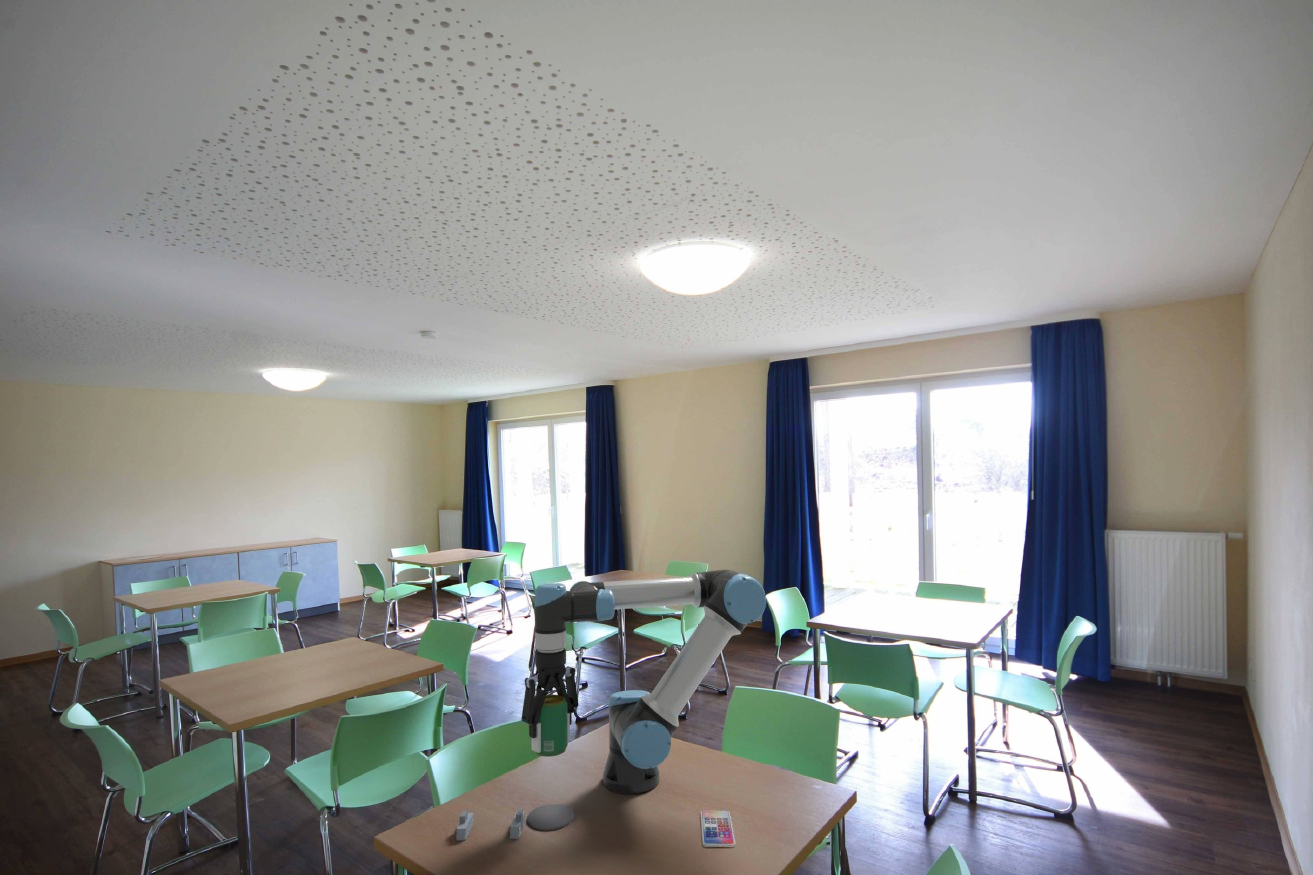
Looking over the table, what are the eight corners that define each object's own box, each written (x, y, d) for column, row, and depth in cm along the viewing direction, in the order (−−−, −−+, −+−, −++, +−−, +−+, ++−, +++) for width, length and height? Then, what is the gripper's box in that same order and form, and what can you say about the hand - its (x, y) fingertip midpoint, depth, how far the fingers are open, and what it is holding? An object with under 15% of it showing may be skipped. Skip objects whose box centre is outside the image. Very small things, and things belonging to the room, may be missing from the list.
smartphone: (730, 809, 153) (736, 844, 138) (730, 814, 153) (736, 849, 138) (699, 809, 153) (702, 844, 138) (699, 813, 153) (702, 849, 138)
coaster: (576, 805, 157) (576, 803, 157) (571, 829, 146) (571, 826, 146) (531, 806, 156) (531, 804, 156) (523, 831, 145) (523, 828, 145)
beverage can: (530, 746, 154) (530, 696, 155) (563, 741, 157) (562, 691, 158) (538, 759, 147) (537, 706, 148) (571, 753, 150) (571, 701, 151)
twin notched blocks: (524, 821, 149) (524, 804, 150) (519, 838, 142) (519, 819, 143) (465, 823, 149) (465, 806, 149) (456, 840, 142) (456, 821, 142)
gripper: (574, 638, 164) (574, 728, 162) (505, 654, 149) (505, 754, 147) (593, 642, 159) (593, 736, 157) (523, 660, 144) (523, 763, 142)
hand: (550, 744), depth 152 cm, fingers closed on beverage can, 8 cm apart
